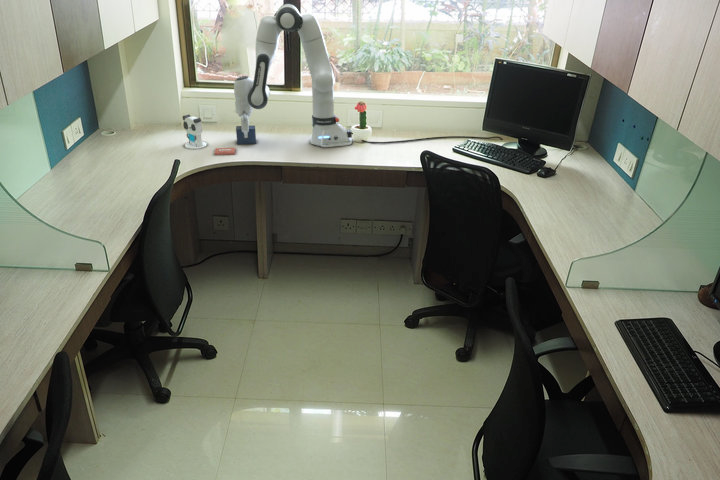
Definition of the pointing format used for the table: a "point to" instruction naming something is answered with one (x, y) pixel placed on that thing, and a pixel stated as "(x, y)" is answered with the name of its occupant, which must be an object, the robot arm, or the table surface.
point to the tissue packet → (224, 151)
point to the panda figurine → (193, 132)
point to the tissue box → (251, 135)
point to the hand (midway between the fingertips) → (246, 135)
